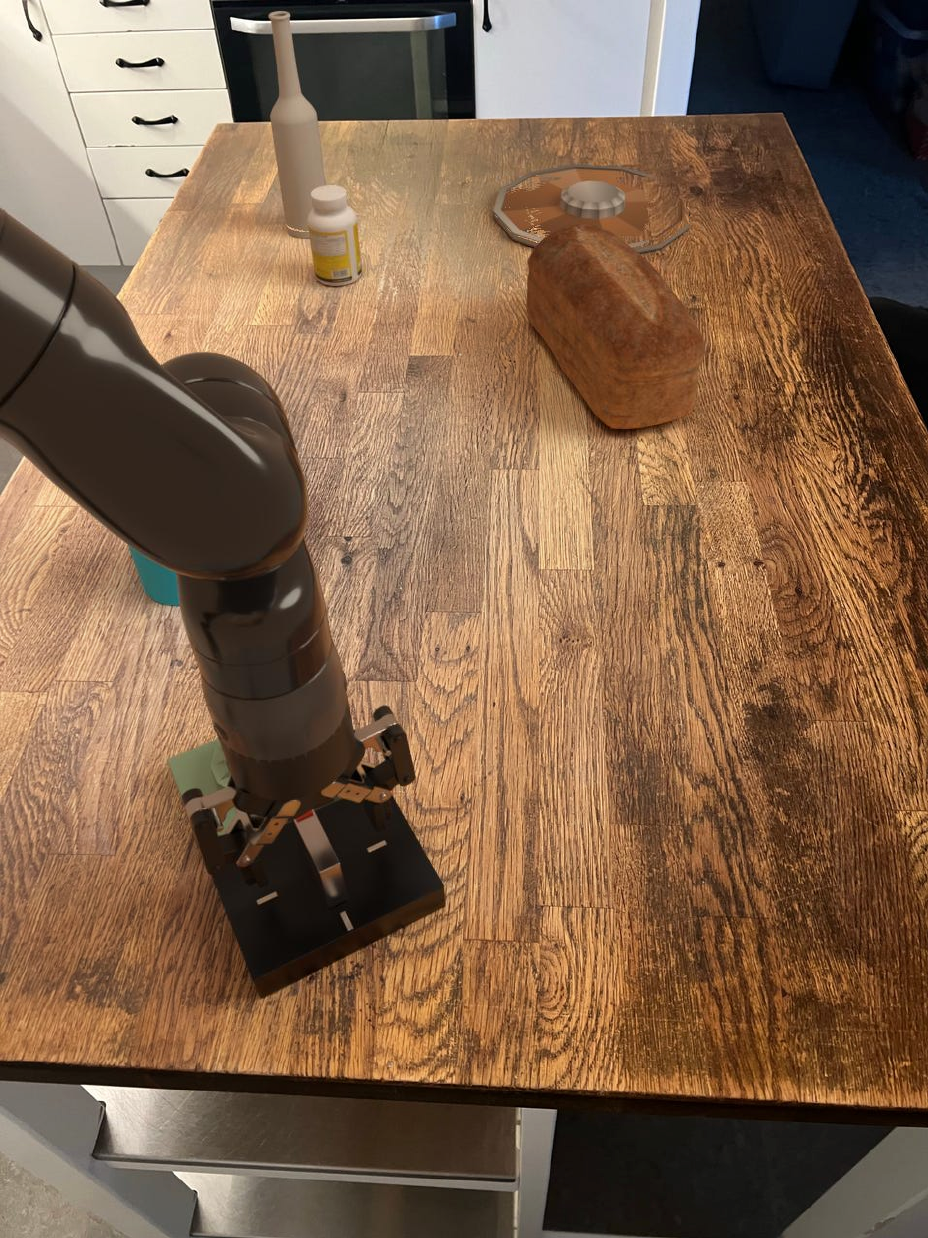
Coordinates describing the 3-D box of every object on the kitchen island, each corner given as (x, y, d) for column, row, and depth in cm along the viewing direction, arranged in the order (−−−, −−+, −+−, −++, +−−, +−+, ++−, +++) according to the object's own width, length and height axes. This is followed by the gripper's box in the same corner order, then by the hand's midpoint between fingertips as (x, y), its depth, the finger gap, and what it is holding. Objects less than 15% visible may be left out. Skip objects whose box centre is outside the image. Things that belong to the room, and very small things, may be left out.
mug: (125, 594, 91) (100, 529, 85) (170, 539, 96) (149, 474, 90) (238, 623, 88) (220, 558, 82) (278, 565, 93) (264, 499, 87)
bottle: (278, 228, 144) (243, 14, 123) (313, 214, 147) (285, 3, 126) (304, 242, 140) (273, 24, 120) (340, 228, 143) (315, 13, 123)
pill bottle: (349, 261, 136) (340, 177, 127) (370, 279, 132) (362, 194, 124) (307, 273, 134) (295, 189, 125) (327, 292, 130) (316, 207, 121)
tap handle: (348, 899, 66) (340, 861, 62) (328, 909, 65) (318, 871, 62) (318, 837, 69) (308, 797, 65) (298, 846, 69) (287, 807, 65)
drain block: (207, 864, 71) (195, 836, 68) (173, 775, 77) (160, 745, 74) (355, 797, 75) (350, 768, 72) (312, 717, 81) (305, 686, 78)
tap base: (260, 1000, 64) (252, 980, 62) (214, 880, 70) (204, 858, 68) (445, 906, 69) (444, 885, 66) (386, 801, 75) (383, 778, 73)
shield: (459, 215, 138) (535, 139, 156) (460, 237, 140) (535, 160, 159) (663, 253, 129) (717, 168, 148) (659, 276, 131) (714, 189, 150)
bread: (606, 449, 105) (618, 338, 95) (514, 312, 125) (516, 210, 115) (707, 428, 107) (729, 318, 97) (600, 297, 128) (610, 195, 118)
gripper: (367, 612, 58) (389, 765, 70) (135, 704, 54) (201, 851, 65) (423, 698, 53) (436, 845, 65) (174, 806, 49) (237, 943, 61)
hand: (318, 848), depth 65 cm, fingers open, 8 cm apart
